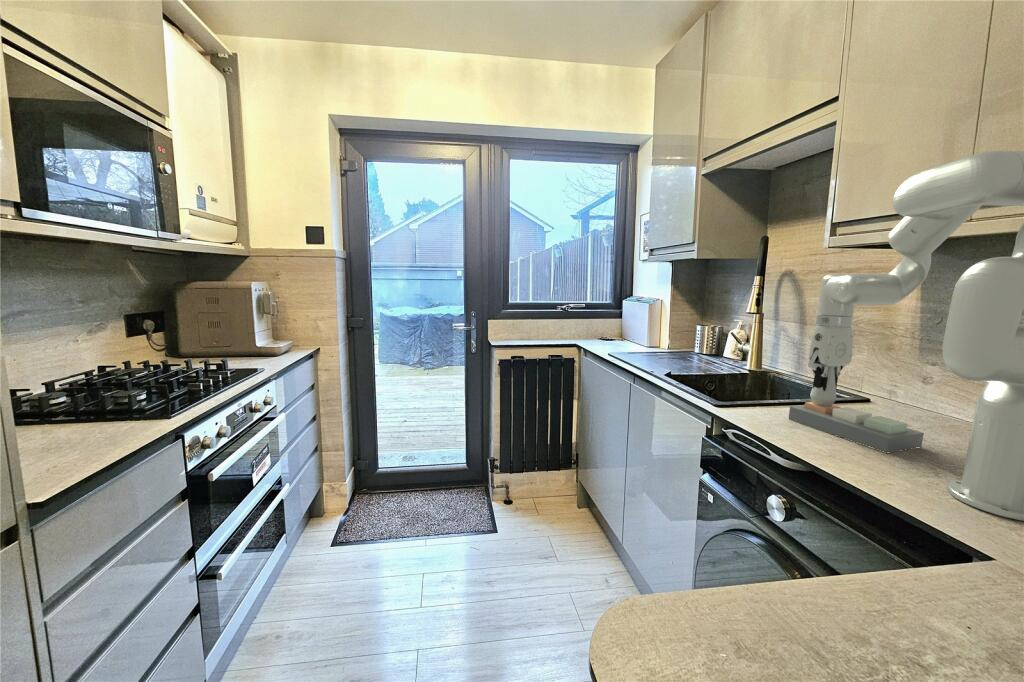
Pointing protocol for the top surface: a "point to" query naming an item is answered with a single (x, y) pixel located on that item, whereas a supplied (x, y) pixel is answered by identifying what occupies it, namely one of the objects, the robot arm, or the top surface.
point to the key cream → (851, 414)
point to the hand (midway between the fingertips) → (824, 389)
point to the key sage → (885, 425)
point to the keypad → (856, 430)
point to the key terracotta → (820, 408)
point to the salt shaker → (829, 394)
